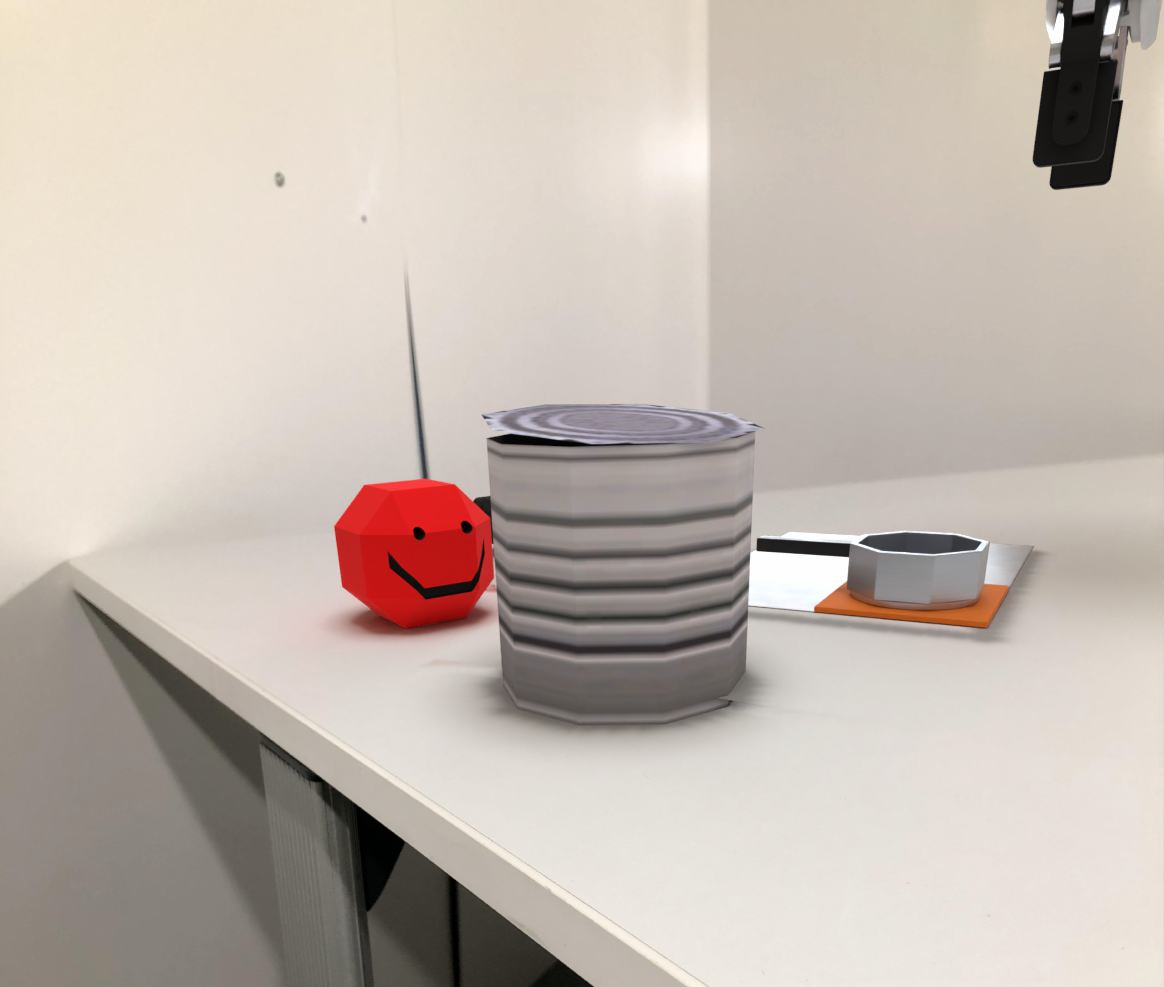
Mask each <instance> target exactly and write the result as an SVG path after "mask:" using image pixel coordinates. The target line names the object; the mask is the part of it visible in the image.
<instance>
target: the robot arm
mask: <svg viewBox="0 0 1164 987" xmlns="http://www.w3.org/2000/svg"><path fill="white" fill-rule="evenodd" d="M1162 3H1163V0H1045V26H1046V30H1047V34H1048V38H1049V41H1050V47H1049V55H1048V70H1046V71H1043V76H1042V84H1041V92H1040V99H1039V105H1038V113H1037V122H1036V127H1035V128H1036V129H1035V136H1034V143H1033V144H1034V145H1033V151H1032V152H1033V153H1032V164H1033V165H1034V166H1035V167H1036V168H1041V169H1042V168H1050V173H1049V174H1050V175H1049V182H1048V183H1049V184H1048V185H1049V187H1050V188H1051V189H1052V190H1053V191H1060V190H1061V191H1062V190H1069V189H1070V190H1071V189H1080V188H1089V187H1090V188H1091V187H1099V186H1105V185H1106V184H1108V183H1109V182H1110V180H1111V178H1112V174H1113V169H1114V168H1113V167H1114V161H1115V155H1116V151H1117V150H1116V149H1117V144H1118V136H1119V130H1120V124H1121V119H1122V112H1123V106H1124V99H1121V93H1122V87H1123V80H1124V79H1123V78H1124V72H1125V64H1126V63H1125V62H1126V55H1127V48H1128V45H1129V38H1130V42H1131V44H1135V43H1136V44H1137V43H1140V51H1146V50H1148V49H1149V48H1150V47H1151V46H1152V45H1153V44H1154V43H1155V42H1156V41H1157V35H1158V30H1159V22H1160V16H1161V10H1162V5H1163V4H1162Z"/></svg>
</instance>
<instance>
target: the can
mask: <svg viewBox="0 0 1164 987" xmlns="http://www.w3.org/2000/svg"><path fill="white" fill-rule="evenodd" d="M481 417H482V418H483V420H484V421H485V422H486V424H487V426H488V427H489V429H490V430H491V432H496V433H497V432H498V433H504V434H501V435H495V436H490V437H486V450H487V451H486V452H487V464H488V479H489V481H488V482H489V494H490V495H489V496H490V497H491V512H492V527H493V542H494V544H493V554H494V555H493V558H494V569H495V570H494V573H495V582H496V583H495V586H496V599H497V600H496V601H497V616H498V629H499V645H500V646H499V647H500V660H501V673H502V675H501V676H502V686H503V688H504V690H505V691H506V693H507V694H508V696H509V697H510V699H511V700H512V702H513V704H514V706H515V707H516V709H517V710H519V711H523V712H527V713H531V714H535V715H539V716H542V717H545V718H550V719H554V720H558V721H562V722H565V723H569V724H573V725H577V726H645V725H646V726H649V725H653V726H656V725H657V726H659V725H668V724H672V723H674V722H678V721H681V720H685V719H689V718H693V717H697V716H700V715H704V714H707V713H711V712H714V711H718V710H721V709H726V708H729V706H730V705H731V704H732V701H734V700H732V699H726V698H723V697H728V696H729V695H730V694H731V693H732V691H733V690H734V688H735V687H736V686H737V684H738V683H739V681H740V680H741V679H742V678H743V676H744V674H745V673H746V671H747V649H748V648H747V647H748V624H749V623H748V620H749V607H748V601H749V576H750V553H751V552H752V549H751V548H752V528H753V526H752V524H753V502H754V500H753V497H754V475H755V474H754V473H755V452H756V451H755V450H756V447H755V446H756V432H759V431H762V430H765V429H766V427H763V426H761V425H758V424H755V423H754V422H751V421H749V420H747V419H744V418H742V417H741V416H738V415H735V414H734V413H731V412H723V411H713V410H703V409H694V408H684V407H675V406H674V407H673V406H667V405H665V406H664V405H655V404H647V403H646V404H645V403H595V404H594V403H588V404H587V403H569V404H568V403H565V404H564V403H563V404H562V403H561V404H560V403H559V404H557V403H553V404H551V403H550V404H547V403H546V404H538V405H533V406H526V407H519V408H514V409H507V410H501V411H494V412H488V413H481Z"/></svg>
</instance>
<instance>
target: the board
mask: <svg viewBox="0 0 1164 987" xmlns="http://www.w3.org/2000/svg"><path fill="white" fill-rule="evenodd" d="M780 536H781V537H798V538H815V539H832V540H849V541H855V540H856V539H857V538H859V537H860V536H861V535H851V534H850V535H849V534H835V533H834V534H832V533H829V534H828V533H815V532H797V531H789V532H788V531H787V532H786V533H784V534H783V535H780ZM1034 548H1035V546H1034V545H1029V544H1012V543H992V542H990V546H989V554H988V561H987V568H986V575H985V582H984V584H995V585H1008V586H1009V590H1008V592H1010V590H1011V588H1012V585H1013V584H1014V582H1015V581H1016V579H1017V577H1018V575H1019V574H1020V572H1021V570H1022V568H1023V567H1024V565H1025V563H1026V561H1027V560H1028V558H1029V557H1030V554H1031V553H1032V551H1033V550H1034ZM848 564H849V557H835V556H820V555H805V554H790V553H775V552H760V551H756V549H754V550H753V551H751V552H750V576H749V601H748V608H760V609H771V610H781V611H782V610H783V611H790V612H791V611H792V612H803V613H811V614H812V613H813V614H823V615H835V616H843V617H844V616H845V617H846V616H847V617H856V618H865V619H866V618H867V619H876V620H886V621H887V620H888V621H897V622H907V623H909V622H910V623H920V624H930V625H940V626H941V625H942V626H951V627H963V628H973V629H983V630H987V628H989V627H990V624H991V622H992V621H993V619H994V617H995V615H996V613H997V612H998V611H999V608H1000V606H1001V605H1002V603H1003V602H1004V599H1005V598H1006V596H1007V595H1008V592H1007V593H1006V595H1005V597H1004V599H1003V600H1002V602H1001V604H1000V606H999V607H998V609H997V611H996V612H995V614H994V616H993V618H992V619H991V621H990V623H989V625H988V626H987V628H983V627H973V626H962V625H951V624H941V623H930V622H919V621H909V620H898V619H887V618H876V617H866V616H855V615H844V614H834V613H823V612H814V607H815V606H816V605H817V604H818V603H820V602H821V601H822V600H823V599H825V598H826V597H827V596H828V595H830V594H831V593H832V592H833V591H835V590H836V589H837V588H838V587H840V586H841V585H842V584H843V583H845V582H846V581H847V576H848Z"/></svg>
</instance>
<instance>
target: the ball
mask: <svg viewBox="0 0 1164 987" xmlns="http://www.w3.org/2000/svg"><path fill="white" fill-rule="evenodd" d="M473 501H474V500H472V499H471V498H470V497H469V496H468V495H467V494H466V493H464V491H463V490H462V489H461V488H460V487H459V486H457V485H456V483H451V482H446V481H440V480H434V479H429V478H418V479H417V478H416V479H409V480H407V479H406V480H399V481H389V482H378V483H369V484H363V486H362V487H361V488H360V490H359V491H358V493H357V494H356V495H355V497H354V498H353V499H352V501H351V502H350V503H349V505H348V507H346V509H345V511H344V512H343V513H342V514H341V515H340V517H339V519H338V520H337V521H336V523H335V524H334V525H333V529H334V536H335V543H336V544H335V545H336V550H337V559H338V566H339V574H340V581H341V588H343V589H344V590H345V591H346V592H348V593H349V594H350V595H351V596H353V597H355V599H357V600H358V601H360V602H361V603H362V604H364V605H365V606H366V607H367V608H369V610H371V611H372V612H373V613H375V615H377V616H379V617H381V618H382V619H385V620H387V621H388V622H391V623H393V624H395V625H397V626H399V627H401V628H403V629H405V630H407V629H412V628H413V629H414V628H417V627H424V626H428V625H429V626H430V625H434V624H439V623H440V624H441V623H444V622H450V621H456V620H462V619H466V618H467V617H468V615H469V614H470V613H471V612H472V610H473V608H474V607H475V606H476V605H477V603H478V601H479V600H480V599H481V597H482V596H483V594H485V592H486V591H487V589H488V588H489V586H490V585H491V583H492V582H493V581H494V580H495V570H494V569H495V566H494V555H493V554H494V551H493V544H492V537H491V522H490V517H489V516H487V515H486V514H485V513H484V512H483V511H482V510H481V509H480V508H479V507H478V506H477V505H476V504H475V503H474V502H473Z"/></svg>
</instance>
